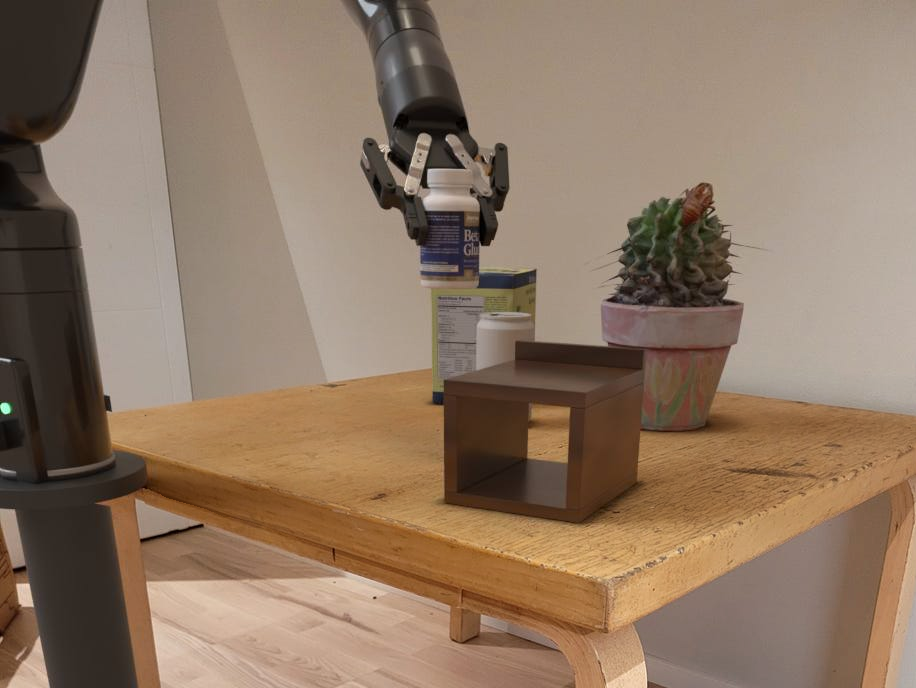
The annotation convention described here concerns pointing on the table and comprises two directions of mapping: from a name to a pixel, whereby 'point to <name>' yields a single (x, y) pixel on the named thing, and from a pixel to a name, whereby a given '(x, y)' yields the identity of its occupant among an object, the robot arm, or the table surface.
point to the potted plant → (675, 307)
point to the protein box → (473, 318)
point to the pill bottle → (450, 231)
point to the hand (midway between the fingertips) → (456, 238)
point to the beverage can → (501, 338)
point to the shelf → (506, 430)
